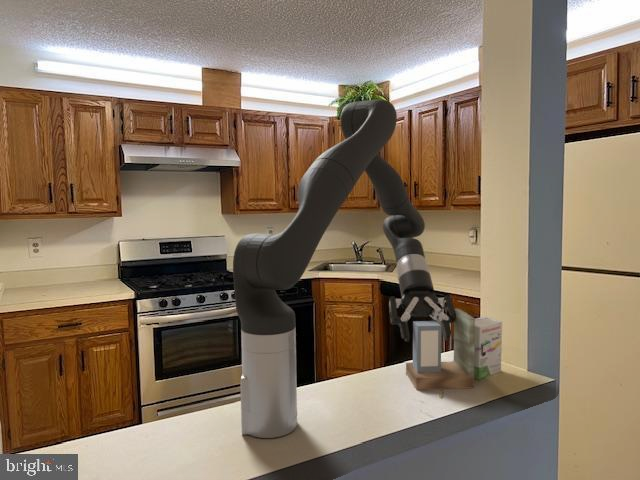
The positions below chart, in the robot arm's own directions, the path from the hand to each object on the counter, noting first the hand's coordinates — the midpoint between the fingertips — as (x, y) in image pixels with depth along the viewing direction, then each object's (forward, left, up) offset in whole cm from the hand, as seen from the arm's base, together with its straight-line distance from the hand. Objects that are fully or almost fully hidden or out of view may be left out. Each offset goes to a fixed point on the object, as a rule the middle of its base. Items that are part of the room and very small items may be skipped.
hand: (427, 339), depth 99 cm
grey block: (0, 0, -6) cm, 6 cm away
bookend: (+2, 0, -9) cm, 9 cm away
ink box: (+13, +4, -9) cm, 17 cm away
